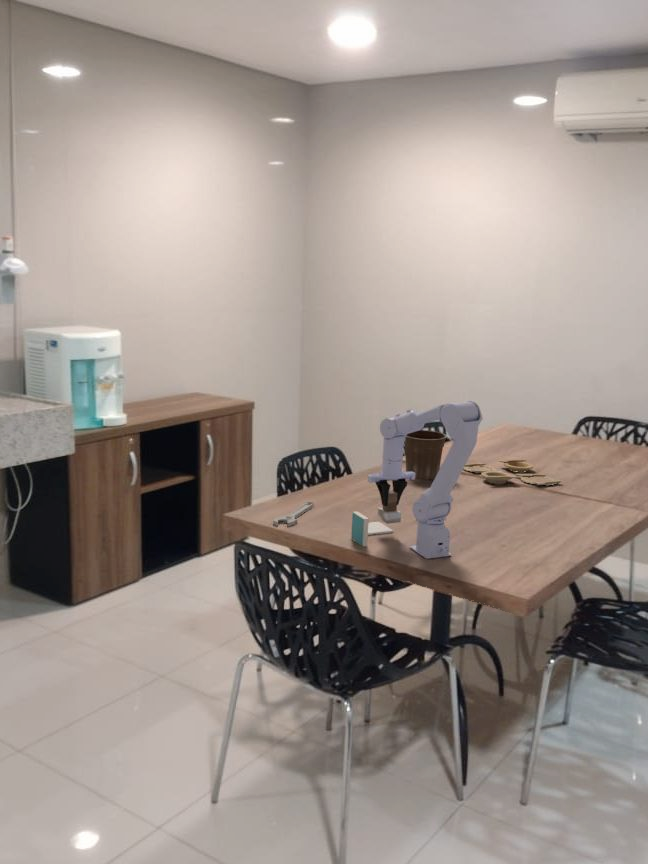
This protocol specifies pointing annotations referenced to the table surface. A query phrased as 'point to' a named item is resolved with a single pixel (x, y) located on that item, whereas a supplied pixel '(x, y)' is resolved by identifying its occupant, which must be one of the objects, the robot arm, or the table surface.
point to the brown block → (390, 509)
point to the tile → (360, 528)
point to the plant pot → (424, 453)
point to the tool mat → (378, 528)
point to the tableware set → (502, 478)
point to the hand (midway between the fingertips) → (390, 504)
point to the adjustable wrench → (293, 515)
